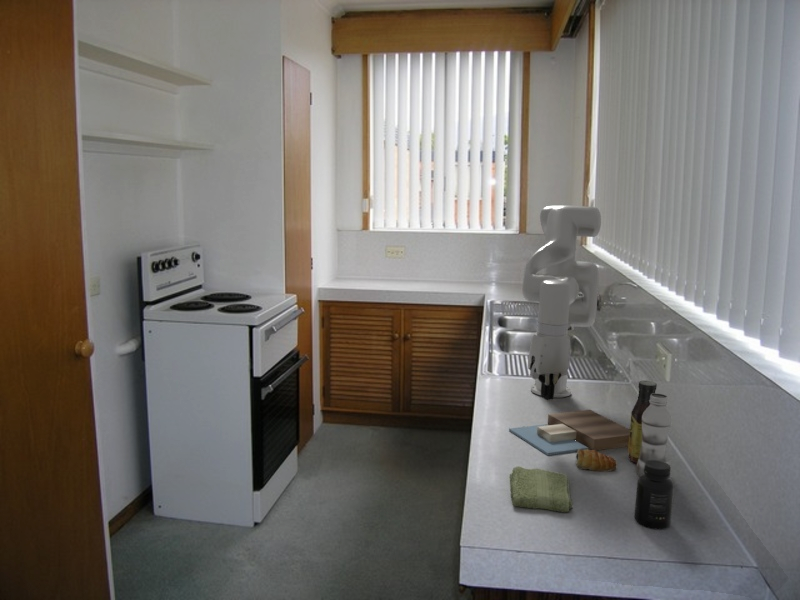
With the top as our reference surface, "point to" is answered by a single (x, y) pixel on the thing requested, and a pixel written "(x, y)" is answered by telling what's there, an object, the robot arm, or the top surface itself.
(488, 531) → the top surface
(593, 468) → the pastry
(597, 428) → the walnut stand
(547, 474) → the washcloth
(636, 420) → the sauce bottle
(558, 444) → the rubber mat
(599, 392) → the top surface
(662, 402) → the plastic bottle
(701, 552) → the top surface
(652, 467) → the supplement bottle
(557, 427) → the birch tile
